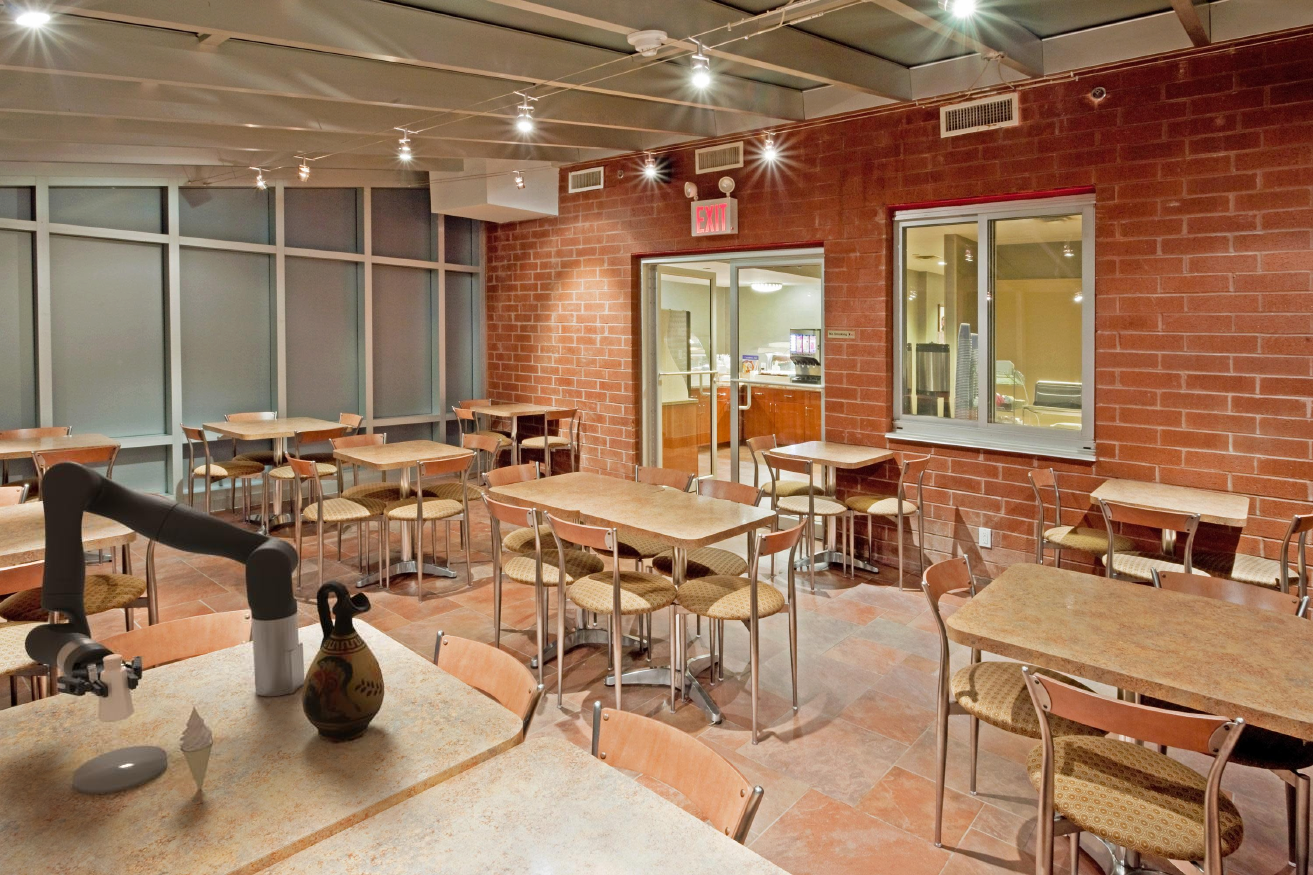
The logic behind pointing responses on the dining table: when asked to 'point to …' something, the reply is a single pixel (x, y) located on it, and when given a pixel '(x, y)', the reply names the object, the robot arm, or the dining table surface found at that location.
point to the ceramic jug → (342, 671)
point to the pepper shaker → (115, 691)
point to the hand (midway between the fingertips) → (120, 687)
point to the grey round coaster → (120, 769)
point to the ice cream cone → (197, 747)
